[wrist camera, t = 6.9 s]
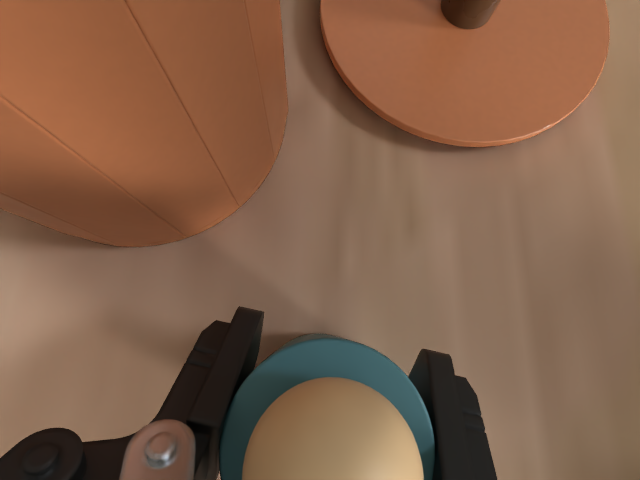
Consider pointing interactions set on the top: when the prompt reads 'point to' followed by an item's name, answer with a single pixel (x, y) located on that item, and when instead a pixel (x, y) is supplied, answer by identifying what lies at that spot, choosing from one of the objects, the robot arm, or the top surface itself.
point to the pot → (138, 113)
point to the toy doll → (327, 417)
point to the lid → (468, 63)
